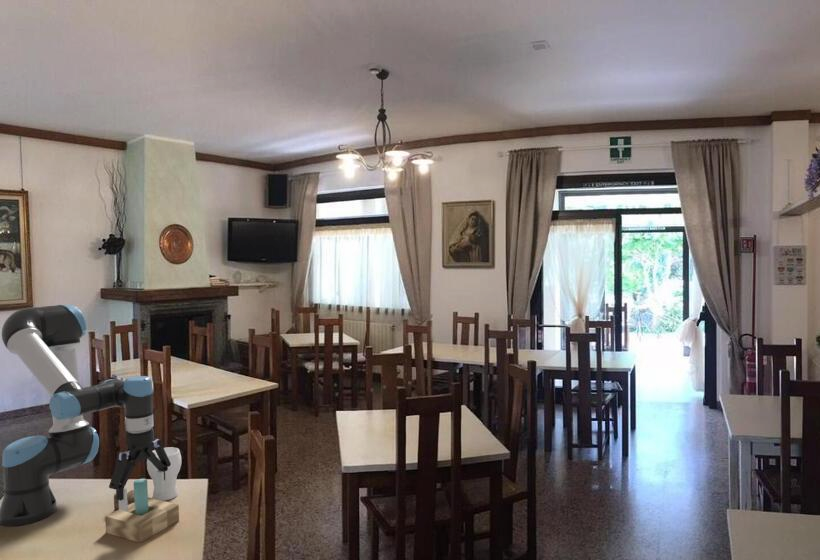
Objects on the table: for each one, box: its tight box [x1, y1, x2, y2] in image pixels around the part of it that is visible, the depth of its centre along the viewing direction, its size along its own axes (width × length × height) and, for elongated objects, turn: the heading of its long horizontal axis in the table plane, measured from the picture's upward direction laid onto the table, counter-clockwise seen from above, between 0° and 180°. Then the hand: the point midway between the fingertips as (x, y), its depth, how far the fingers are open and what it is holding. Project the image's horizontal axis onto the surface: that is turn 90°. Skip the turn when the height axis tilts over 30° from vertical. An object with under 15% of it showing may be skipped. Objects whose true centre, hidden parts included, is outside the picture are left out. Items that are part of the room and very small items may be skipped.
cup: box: [146, 446, 182, 502], centre depth 187 cm, size 11×11×15 cm
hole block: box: [104, 496, 180, 543], centre depth 167 cm, size 14×14×5 cm
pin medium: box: [127, 489, 135, 505], centre depth 181 cm, size 4×4×8 cm
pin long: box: [133, 478, 149, 516], centre depth 166 cm, size 4×4×14 cm
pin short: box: [113, 493, 119, 512], centre depth 178 cm, size 4×4×5 cm
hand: (142, 500), depth 166 cm, fingers open, 12 cm apart
